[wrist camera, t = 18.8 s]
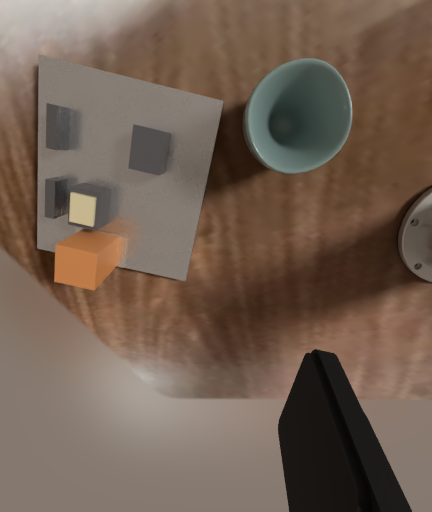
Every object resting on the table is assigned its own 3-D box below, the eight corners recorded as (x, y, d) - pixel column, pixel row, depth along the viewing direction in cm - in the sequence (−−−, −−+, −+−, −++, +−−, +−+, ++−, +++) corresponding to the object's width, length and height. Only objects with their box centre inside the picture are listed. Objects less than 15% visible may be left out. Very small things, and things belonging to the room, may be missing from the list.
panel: (223, 103, 30) (223, 97, 26) (187, 275, 37) (182, 290, 33) (48, 59, 29) (22, 46, 25) (45, 244, 36) (24, 255, 32)
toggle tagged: (110, 189, 32) (98, 193, 29) (107, 223, 33) (95, 232, 30) (83, 182, 32) (67, 186, 28) (81, 217, 33) (65, 225, 30)
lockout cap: (119, 235, 33) (97, 254, 28) (115, 267, 35) (94, 290, 29) (84, 228, 33) (55, 244, 27) (82, 259, 34) (54, 281, 29)
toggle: (171, 133, 29) (165, 131, 27) (165, 173, 31) (158, 175, 28) (142, 126, 29) (133, 124, 27) (137, 166, 31) (128, 168, 28)
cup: (255, 177, 32) (267, 190, 23) (228, 106, 30) (229, 88, 21) (323, 148, 31) (365, 149, 22) (301, 71, 29) (338, 34, 19)
